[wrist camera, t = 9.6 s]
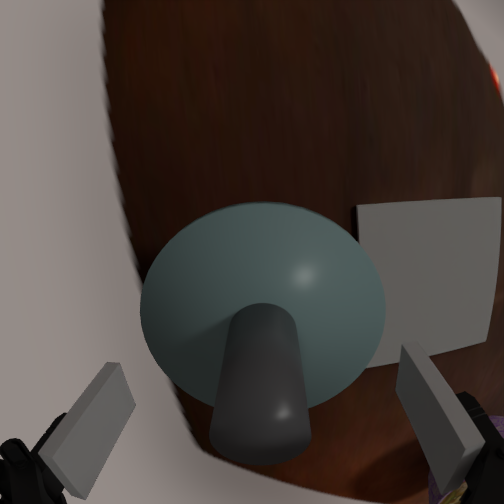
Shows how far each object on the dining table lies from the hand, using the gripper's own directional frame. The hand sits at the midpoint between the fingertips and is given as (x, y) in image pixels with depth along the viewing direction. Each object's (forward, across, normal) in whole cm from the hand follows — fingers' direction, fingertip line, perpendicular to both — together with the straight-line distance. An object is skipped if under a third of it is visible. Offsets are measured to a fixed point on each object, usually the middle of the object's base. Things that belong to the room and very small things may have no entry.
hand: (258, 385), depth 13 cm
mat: (+18, +18, -4) cm, 26 cm away
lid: (+6, 0, 0) cm, 6 cm away
